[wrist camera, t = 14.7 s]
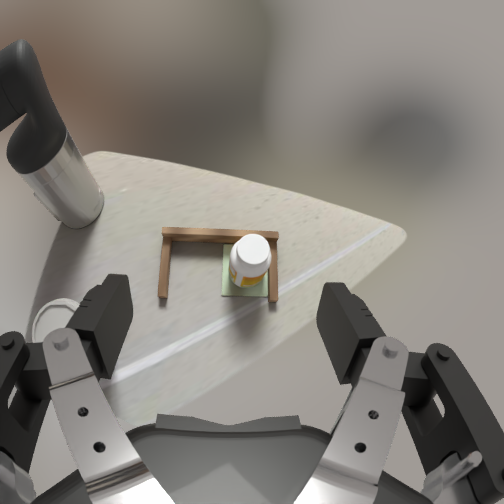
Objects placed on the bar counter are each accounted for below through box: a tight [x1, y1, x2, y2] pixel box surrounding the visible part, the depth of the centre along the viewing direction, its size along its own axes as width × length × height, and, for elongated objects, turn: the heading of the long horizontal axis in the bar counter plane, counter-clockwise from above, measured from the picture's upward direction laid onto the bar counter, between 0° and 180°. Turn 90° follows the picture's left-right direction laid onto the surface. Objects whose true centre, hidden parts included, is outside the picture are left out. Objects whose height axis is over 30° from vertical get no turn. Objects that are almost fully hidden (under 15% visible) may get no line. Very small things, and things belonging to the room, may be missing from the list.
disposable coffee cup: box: [32, 298, 80, 343], centre depth 32 cm, size 10×10×12 cm
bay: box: [158, 227, 279, 302], centre depth 42 cm, size 17×10×3 cm, turn 90°
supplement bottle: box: [228, 234, 271, 288], centre depth 39 cm, size 5×5×10 cm
